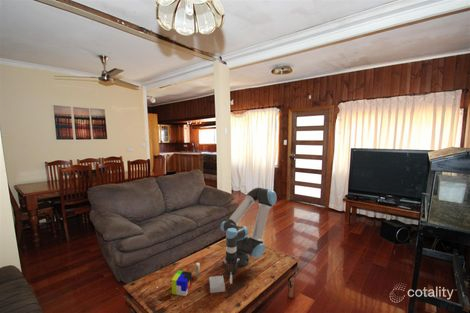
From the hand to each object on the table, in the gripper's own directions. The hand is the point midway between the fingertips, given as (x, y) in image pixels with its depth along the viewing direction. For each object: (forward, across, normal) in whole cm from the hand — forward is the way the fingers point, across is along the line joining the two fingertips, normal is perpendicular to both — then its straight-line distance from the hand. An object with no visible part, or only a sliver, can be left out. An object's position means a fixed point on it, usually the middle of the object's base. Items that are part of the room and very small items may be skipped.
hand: (230, 282), depth 150 cm
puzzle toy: (+2, +34, 0) cm, 34 cm away
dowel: (+2, +24, -12) cm, 27 cm away
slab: (+2, +10, 0) cm, 10 cm away
